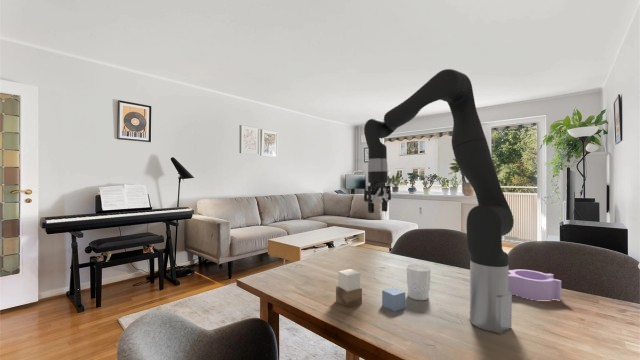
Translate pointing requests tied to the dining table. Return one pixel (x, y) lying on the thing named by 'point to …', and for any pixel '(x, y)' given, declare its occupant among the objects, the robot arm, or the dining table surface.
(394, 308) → the blue cube
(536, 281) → the purple piece
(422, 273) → the white cup
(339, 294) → the tower base
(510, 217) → the robot arm
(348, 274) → the tower top
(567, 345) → the dining table surface
